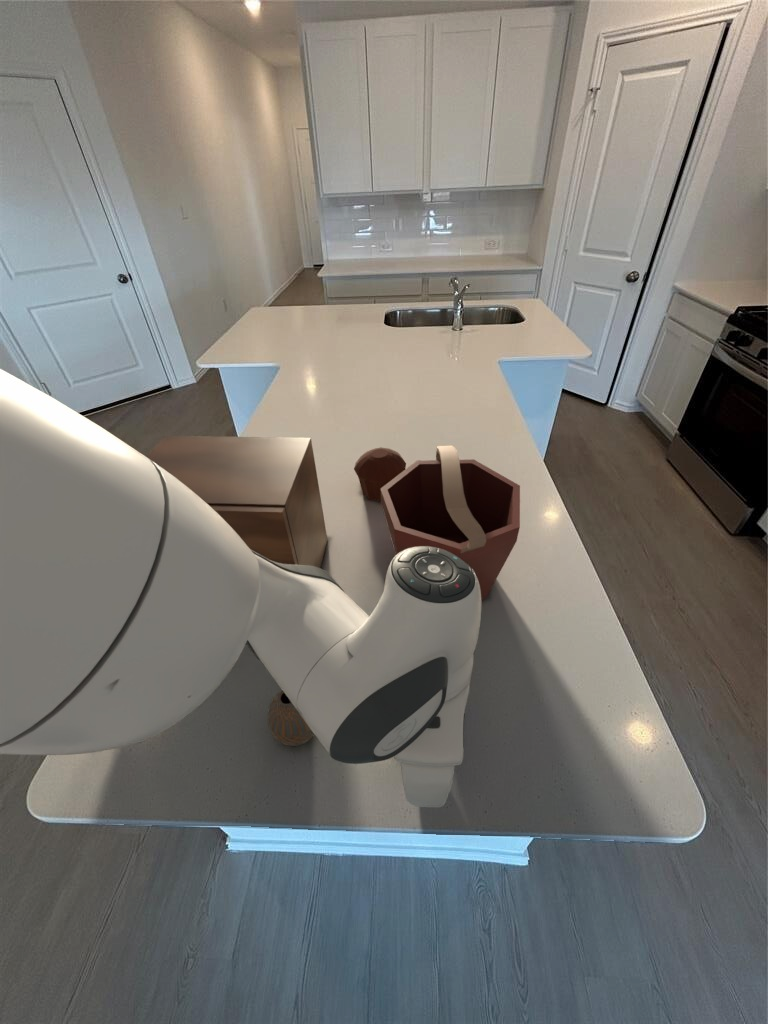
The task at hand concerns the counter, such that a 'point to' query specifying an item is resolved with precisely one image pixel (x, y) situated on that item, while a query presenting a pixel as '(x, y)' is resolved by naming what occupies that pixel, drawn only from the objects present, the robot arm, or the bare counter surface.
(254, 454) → the cupboard
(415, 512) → the bucket
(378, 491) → the muffin
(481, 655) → the counter surface
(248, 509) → the cupboard door
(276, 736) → the vase
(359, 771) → the counter surface
